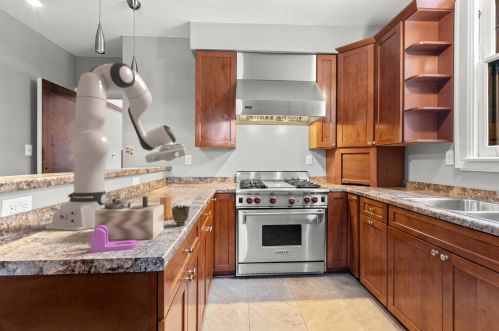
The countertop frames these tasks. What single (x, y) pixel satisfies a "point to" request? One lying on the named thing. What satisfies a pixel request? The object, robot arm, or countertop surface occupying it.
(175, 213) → the cup
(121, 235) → the gearbox
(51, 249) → the countertop surface
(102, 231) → the bracket
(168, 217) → the orange gear
